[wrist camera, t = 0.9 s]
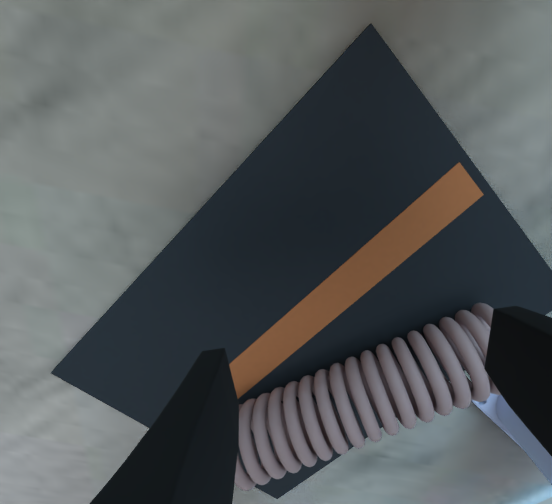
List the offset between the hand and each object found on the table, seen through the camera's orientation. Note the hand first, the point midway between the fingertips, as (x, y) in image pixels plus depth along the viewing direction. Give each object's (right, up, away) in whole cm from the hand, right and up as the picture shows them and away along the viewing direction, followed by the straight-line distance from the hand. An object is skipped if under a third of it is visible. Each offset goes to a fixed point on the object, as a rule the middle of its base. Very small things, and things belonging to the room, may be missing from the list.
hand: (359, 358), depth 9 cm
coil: (+3, -5, +13) cm, 14 cm away
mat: (0, -2, +12) cm, 12 cm away
